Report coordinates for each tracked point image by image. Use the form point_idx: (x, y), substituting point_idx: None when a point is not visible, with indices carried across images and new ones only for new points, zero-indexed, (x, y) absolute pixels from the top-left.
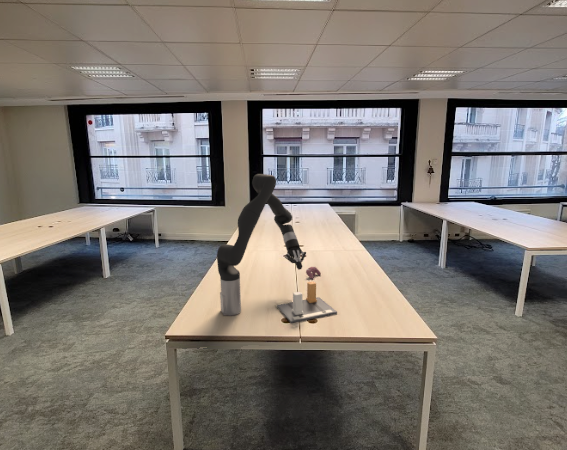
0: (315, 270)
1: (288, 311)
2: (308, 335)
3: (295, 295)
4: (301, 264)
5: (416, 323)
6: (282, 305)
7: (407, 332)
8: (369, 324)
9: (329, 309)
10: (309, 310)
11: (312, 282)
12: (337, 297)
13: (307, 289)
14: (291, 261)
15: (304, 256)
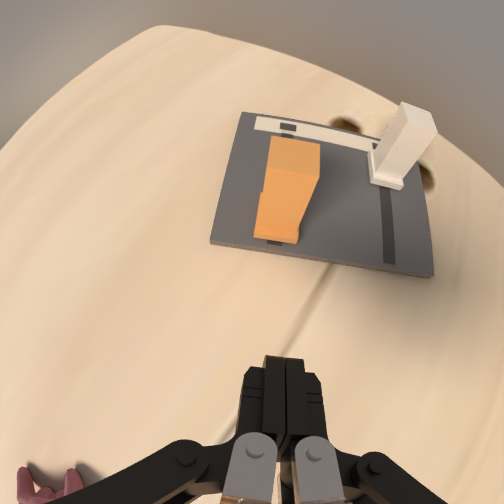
0: (30, 494)
1: (408, 201)
2: (383, 98)
3: (429, 114)
4: (246, 399)
5: (126, 46)
6: (415, 258)
7: (174, 33)
8: (210, 60)
9: (255, 131)
10: (332, 162)
11: (285, 156)
12: (126, 211)
13: (307, 201)
14: (368, 496)
15: (109, 483)
